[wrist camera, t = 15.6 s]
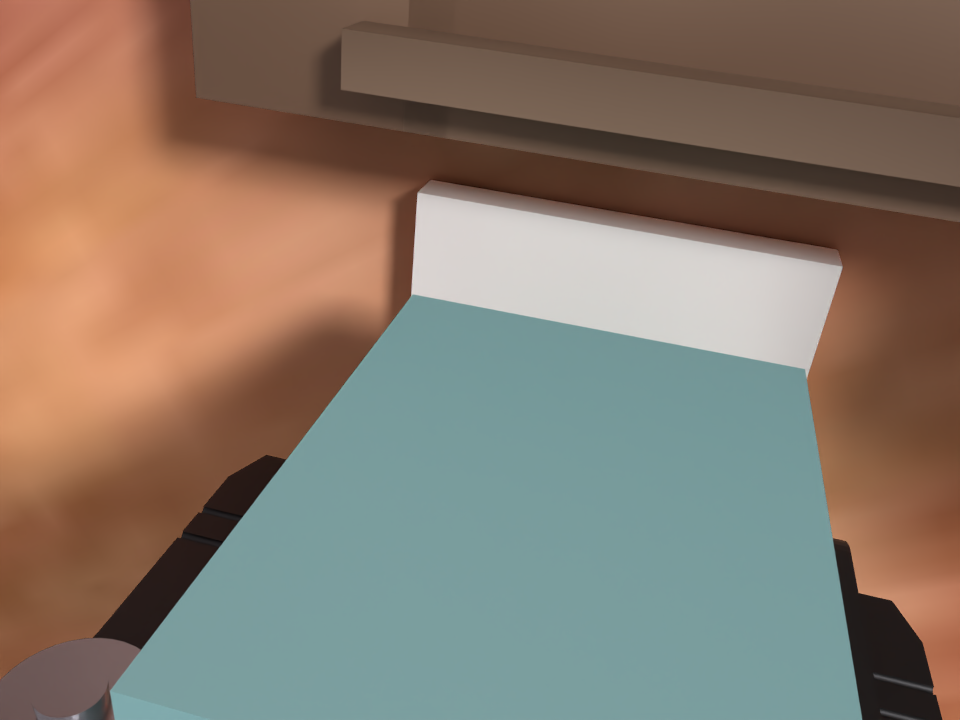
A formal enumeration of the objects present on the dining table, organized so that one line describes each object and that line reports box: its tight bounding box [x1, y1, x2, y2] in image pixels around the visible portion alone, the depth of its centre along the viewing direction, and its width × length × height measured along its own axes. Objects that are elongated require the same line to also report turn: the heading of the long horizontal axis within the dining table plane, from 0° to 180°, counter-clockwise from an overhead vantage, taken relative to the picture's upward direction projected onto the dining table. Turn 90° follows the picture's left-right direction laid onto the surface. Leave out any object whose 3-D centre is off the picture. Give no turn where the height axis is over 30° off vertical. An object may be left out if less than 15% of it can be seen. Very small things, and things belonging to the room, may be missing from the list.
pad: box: [411, 180, 843, 379], centre depth 13 cm, size 6×6×1 cm
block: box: [110, 294, 862, 720], centre depth 9 cm, size 4×4×6 cm
